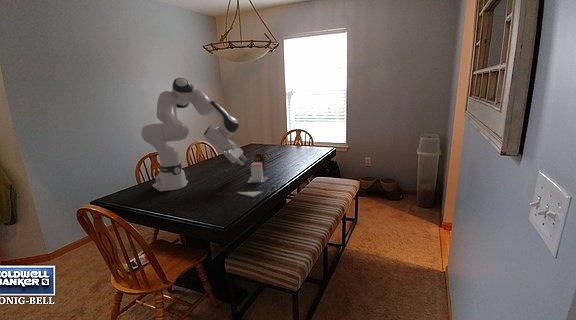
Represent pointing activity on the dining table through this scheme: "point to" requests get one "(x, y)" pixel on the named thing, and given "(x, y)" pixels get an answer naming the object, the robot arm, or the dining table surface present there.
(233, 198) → the dining table surface
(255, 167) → the pink tall block
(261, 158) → the wooden mug
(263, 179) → the square base plate
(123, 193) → the dining table surface
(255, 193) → the pad
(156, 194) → the dining table surface
